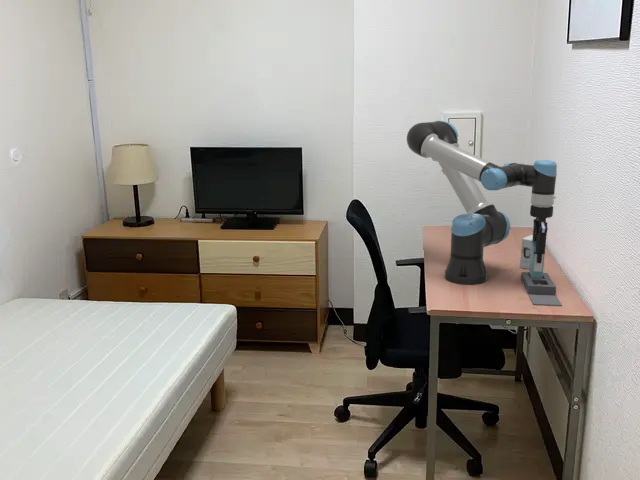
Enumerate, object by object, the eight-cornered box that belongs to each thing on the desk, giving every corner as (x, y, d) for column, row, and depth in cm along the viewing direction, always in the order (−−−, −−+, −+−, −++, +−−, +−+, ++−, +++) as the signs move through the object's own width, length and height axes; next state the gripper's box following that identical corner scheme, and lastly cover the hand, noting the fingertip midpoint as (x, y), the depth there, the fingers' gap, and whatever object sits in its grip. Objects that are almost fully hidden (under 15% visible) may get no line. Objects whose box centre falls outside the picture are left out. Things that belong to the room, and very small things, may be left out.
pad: (561, 306, 207) (562, 305, 206) (533, 304, 208) (533, 303, 208) (556, 296, 215) (556, 295, 215) (528, 295, 216) (528, 294, 216)
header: (555, 295, 217) (556, 287, 216) (528, 294, 218) (528, 285, 217) (546, 280, 232) (547, 272, 231) (521, 279, 233) (521, 271, 232)
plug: (542, 282, 226) (545, 244, 223) (530, 282, 227) (533, 244, 223) (540, 279, 230) (543, 241, 227) (528, 278, 231) (531, 241, 227)
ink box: (529, 262, 254) (531, 234, 251) (541, 265, 251) (543, 236, 248) (519, 267, 248) (521, 238, 245) (531, 270, 245) (533, 240, 242)
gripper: (558, 210, 213) (552, 277, 219) (548, 200, 229) (543, 262, 235) (534, 209, 214) (529, 276, 220) (527, 200, 230) (522, 262, 236)
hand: (536, 269), depth 227 cm, fingers closed on plug, 4 cm apart
